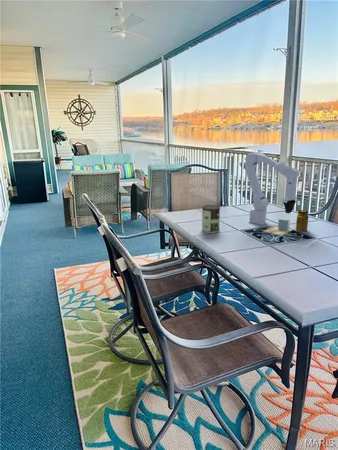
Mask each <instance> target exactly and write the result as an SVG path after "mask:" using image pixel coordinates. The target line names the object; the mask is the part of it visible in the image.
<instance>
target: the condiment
mask: <svg viewBox="0 0 338 450" xmlns="http://www.w3.org/2000/svg"><path fill="white" fill-rule="evenodd" d="M308 224H309V211H308V210H305V209H301V210H298V212H297V215H296V224H295V230H296V231H297V232H300V233H301V232H304V233H305V232H308V226H309V225H308Z"/></svg>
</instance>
